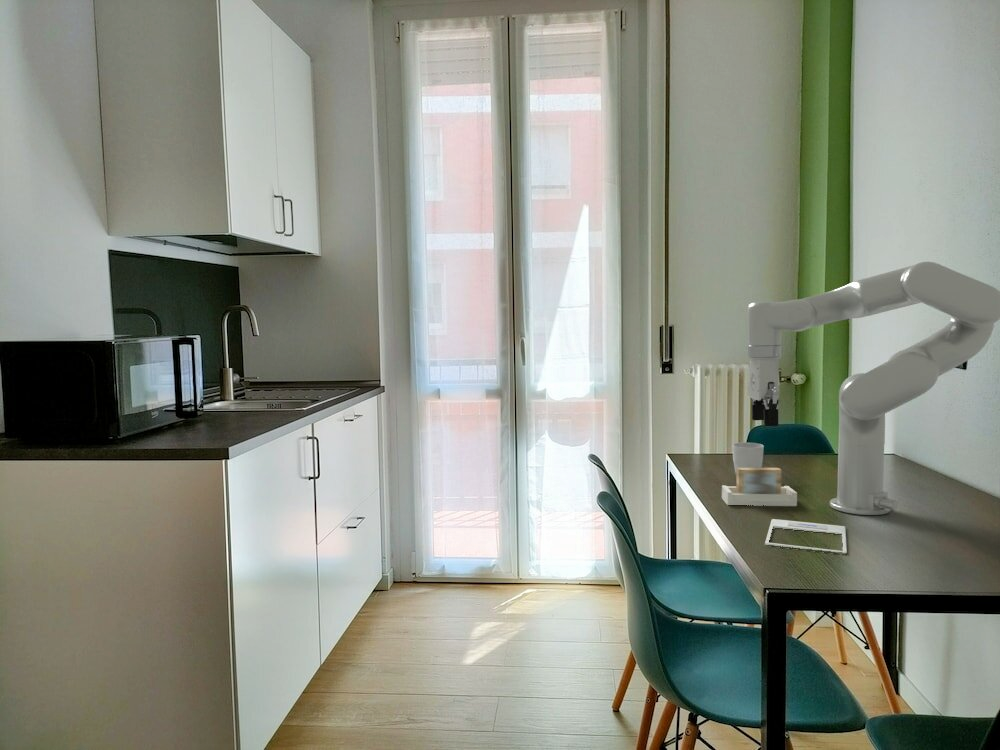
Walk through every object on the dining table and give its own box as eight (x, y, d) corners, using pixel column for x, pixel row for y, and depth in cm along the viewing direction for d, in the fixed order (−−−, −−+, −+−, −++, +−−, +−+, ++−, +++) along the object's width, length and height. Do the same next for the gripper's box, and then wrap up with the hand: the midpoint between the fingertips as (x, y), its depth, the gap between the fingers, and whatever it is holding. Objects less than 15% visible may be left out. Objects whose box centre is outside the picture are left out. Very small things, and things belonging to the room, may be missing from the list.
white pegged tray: (788, 498, 176) (788, 485, 175) (796, 506, 169) (797, 492, 168) (721, 498, 177) (721, 484, 177) (727, 505, 170) (727, 491, 170)
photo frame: (845, 525, 151) (846, 551, 135) (845, 530, 151) (846, 557, 135) (771, 518, 157) (764, 542, 141) (771, 522, 157) (764, 547, 141)
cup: (758, 477, 198) (759, 442, 197) (766, 484, 190) (767, 447, 189) (729, 477, 199) (729, 442, 198) (735, 484, 191) (736, 447, 190)
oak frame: (778, 495, 174) (778, 467, 173) (781, 498, 171) (781, 470, 171) (736, 495, 175) (736, 467, 174) (738, 498, 172) (739, 469, 172)
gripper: (738, 351, 181) (739, 418, 182) (759, 355, 163) (759, 428, 165) (769, 350, 180) (769, 417, 181) (792, 354, 163) (792, 427, 164)
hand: (764, 422), depth 173 cm, fingers open, 9 cm apart
